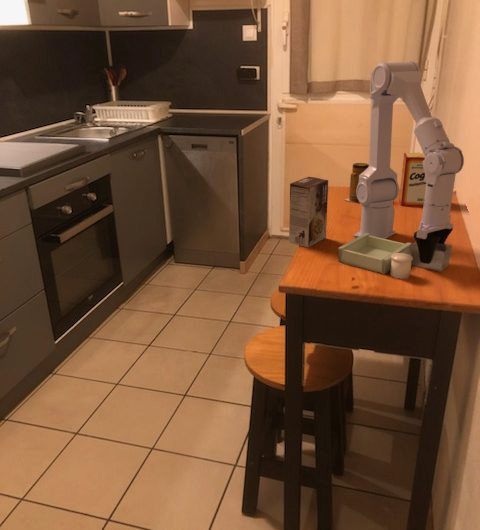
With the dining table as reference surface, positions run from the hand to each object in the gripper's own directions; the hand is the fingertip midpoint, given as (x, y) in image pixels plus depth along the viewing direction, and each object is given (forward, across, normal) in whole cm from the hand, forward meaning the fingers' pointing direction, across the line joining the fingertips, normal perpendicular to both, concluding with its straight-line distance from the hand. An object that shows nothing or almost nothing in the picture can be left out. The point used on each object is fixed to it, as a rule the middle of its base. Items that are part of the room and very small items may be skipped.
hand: (429, 259), depth 119 cm
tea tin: (+1, 0, 0) cm, 1 cm away
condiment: (+2, +39, +40) cm, 56 cm away
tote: (+1, -5, +12) cm, 13 cm away
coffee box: (+2, -4, +32) cm, 32 cm away
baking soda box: (+2, +46, +24) cm, 52 cm away
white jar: (+2, -10, +3) cm, 10 cm away
